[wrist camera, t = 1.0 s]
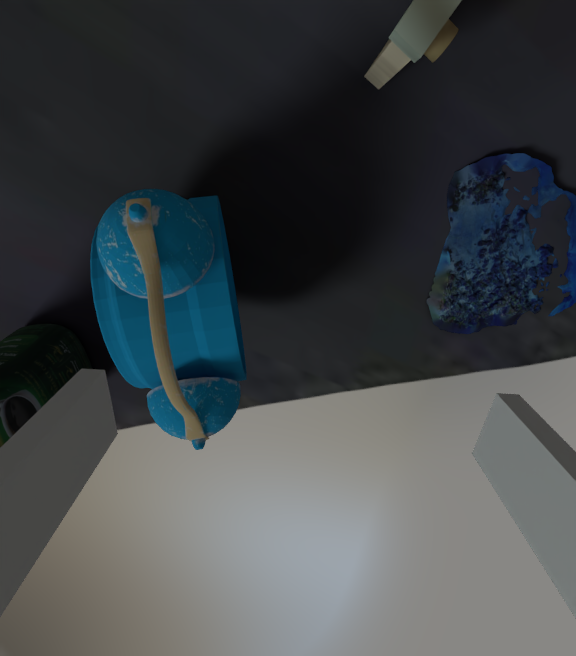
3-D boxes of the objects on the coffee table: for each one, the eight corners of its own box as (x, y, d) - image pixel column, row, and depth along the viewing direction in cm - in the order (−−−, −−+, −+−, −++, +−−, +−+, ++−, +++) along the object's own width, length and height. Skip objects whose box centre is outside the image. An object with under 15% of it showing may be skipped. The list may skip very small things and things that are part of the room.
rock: (424, 331, 38) (431, 339, 36) (436, 161, 31) (445, 160, 29) (560, 319, 37) (573, 326, 35) (603, 143, 30) (623, 141, 28)
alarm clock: (135, 187, 31) (-79, 214, 13) (245, 176, 31) (178, 188, 13) (176, 346, 39) (73, 504, 20) (267, 339, 38) (243, 495, 20)
